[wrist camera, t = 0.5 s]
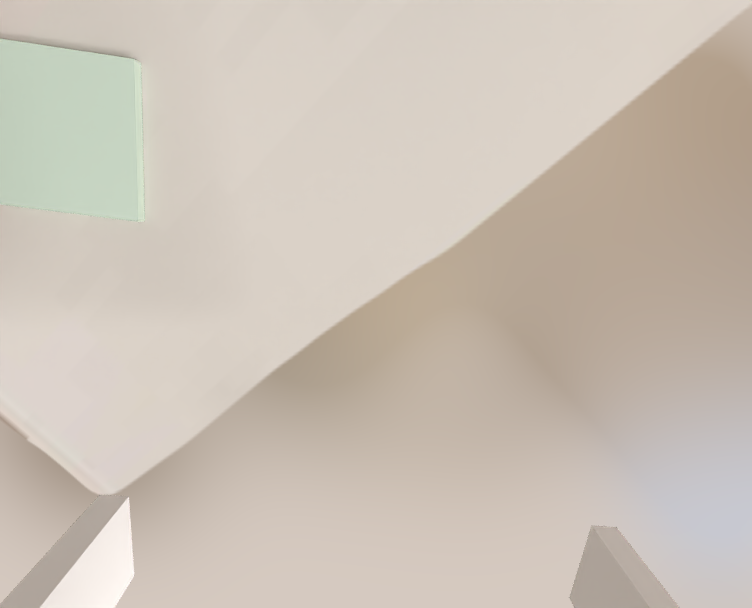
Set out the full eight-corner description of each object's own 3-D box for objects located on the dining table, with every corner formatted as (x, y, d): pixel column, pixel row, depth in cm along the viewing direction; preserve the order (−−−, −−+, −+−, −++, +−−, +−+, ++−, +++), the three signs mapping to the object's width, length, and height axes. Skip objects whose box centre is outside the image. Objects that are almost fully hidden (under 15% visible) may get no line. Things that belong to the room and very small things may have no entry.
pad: (-11, 40, 31) (-23, 35, 30) (141, 63, 31) (134, 58, 30) (7, 204, 34) (-4, 204, 33) (144, 221, 35) (138, 221, 34)
